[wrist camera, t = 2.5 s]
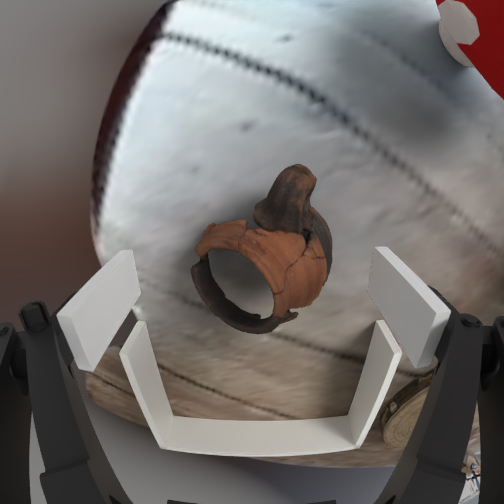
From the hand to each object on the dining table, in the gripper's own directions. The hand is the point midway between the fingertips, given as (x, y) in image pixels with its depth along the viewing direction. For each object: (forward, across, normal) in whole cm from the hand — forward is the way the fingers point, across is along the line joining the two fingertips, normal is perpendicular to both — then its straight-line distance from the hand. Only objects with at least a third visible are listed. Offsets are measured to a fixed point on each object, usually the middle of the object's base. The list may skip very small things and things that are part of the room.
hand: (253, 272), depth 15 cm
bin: (+8, 0, +17) cm, 19 cm away
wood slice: (+8, -25, +25) cm, 36 cm away
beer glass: (+7, -38, +42) cm, 58 cm away
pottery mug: (+8, -1, +1) cm, 8 cm away
